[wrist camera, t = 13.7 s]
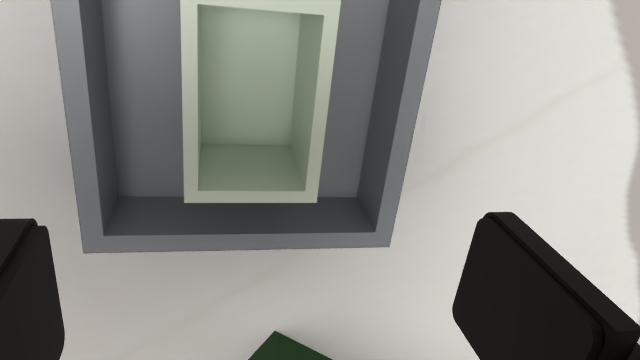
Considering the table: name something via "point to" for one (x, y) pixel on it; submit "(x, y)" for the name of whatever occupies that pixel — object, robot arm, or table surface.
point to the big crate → (167, 131)
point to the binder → (285, 350)
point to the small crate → (255, 98)
